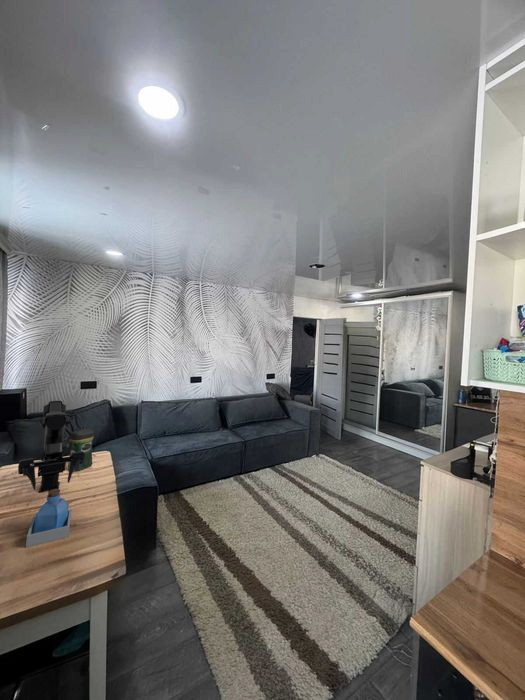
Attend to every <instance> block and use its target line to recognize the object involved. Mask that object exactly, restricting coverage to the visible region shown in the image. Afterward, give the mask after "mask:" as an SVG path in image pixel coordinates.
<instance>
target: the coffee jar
mask: <svg viewBox="0 0 525 700" xmlns="http://www.w3.org/2000/svg"><path fill="white" fill-rule="evenodd" d="M94 437H95V433H94V430H93V428H89V427H88V428H84V429H79V430H75V431H72V432H71V433H70V437H69V440H70V452H69V456H72V452H79V451H83V452H85V458H84V462H83V464H79V466H78V467H76V468H75V470H74V471H73V472H80V471H83V470H86V469H88V468H90V467H92V465H93V440H94ZM67 463H68V464H67V470H69V468H70V463H71V462H67Z"/></svg>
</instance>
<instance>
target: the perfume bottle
mask: <svg viewBox="0 0 525 700" xmlns="http://www.w3.org/2000/svg"><path fill="white" fill-rule="evenodd" d="M69 506H70V505H69V502H67V500H66V499H65V498H63V497H62V498H61V489H60V488H59V489H53V490H50V491H47V495H46V502H45V503H43V504H42V505H41V507H40V508H39V510H38V511H37V513H36V514H35V516H34V517H35V527H34V533H39V532H43V531H47V530H52V529H56V528H60V527H64V526H65V525H66V524H67V520H68V510H69Z"/></svg>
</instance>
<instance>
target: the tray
mask: <svg viewBox="0 0 525 700" xmlns="http://www.w3.org/2000/svg"><path fill="white" fill-rule="evenodd" d="M71 517H72V509H68V520H67V524H66V525H65V526H64V527H60V528H56V529H52V530H47V531H43V532H39V533H34V527H35V516H33V517H32V519H31V522H30V526H29V529H28V533H27V535H26V543H25V545H26V546H25V548H26V549H27V548H31V547H34V546H38V545H42V544H47V543H50V542H54V541H58V540H63V539H65V537H67V538H69V536H70V528H71V521H70V520H71V519H72V518H71ZM62 538H63V539H62Z"/></svg>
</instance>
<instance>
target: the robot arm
mask: <svg viewBox="0 0 525 700" xmlns="http://www.w3.org/2000/svg"><path fill="white" fill-rule="evenodd" d="M66 412H67V405H66V404H65V403H63V400H49V401H48V403H47V404H45V405H44V406H43V410H42V418H43V419H42V429H44V430H45V434H44V444H43V452H42V454H41V458H40V459H41V460H37V461H35V458H34V457H32V458H31V457H30V458H25V459H20V461H18V466H17V467H18V469H17V473H18V474H17V475H23V477H27V478H28V480H29V481H30V483H31V486H32V488H33V490H34V491H35V490H36V488H37V487H36V486H37V481H36V469H35V468H37V478H40V477H41V481H40V486H39V488H38V490H37V491H38V493H46V492H49V491H50V490H53V489H60V484H61V481H59V479H60V474H63V473H64V472H65V471H66V465H67V464H66V463H69V462H71V463H70V468H69V469H68V475H67V476H68V477H67V484H69V483H70V481H71V479H72V475H73V474H74V472H75V471H74V470H75V468H76V467H78V466H79V464H83V462H84V458H85V452H83V451H79V452H72V456H70V455H69V456H64V455H65V451H66V450H70V449H71V442H70V439H67V440H64V436H65V435H64V433H65V429H66V427H68V425H70V419H69V418H68V415H66Z"/></svg>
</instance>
